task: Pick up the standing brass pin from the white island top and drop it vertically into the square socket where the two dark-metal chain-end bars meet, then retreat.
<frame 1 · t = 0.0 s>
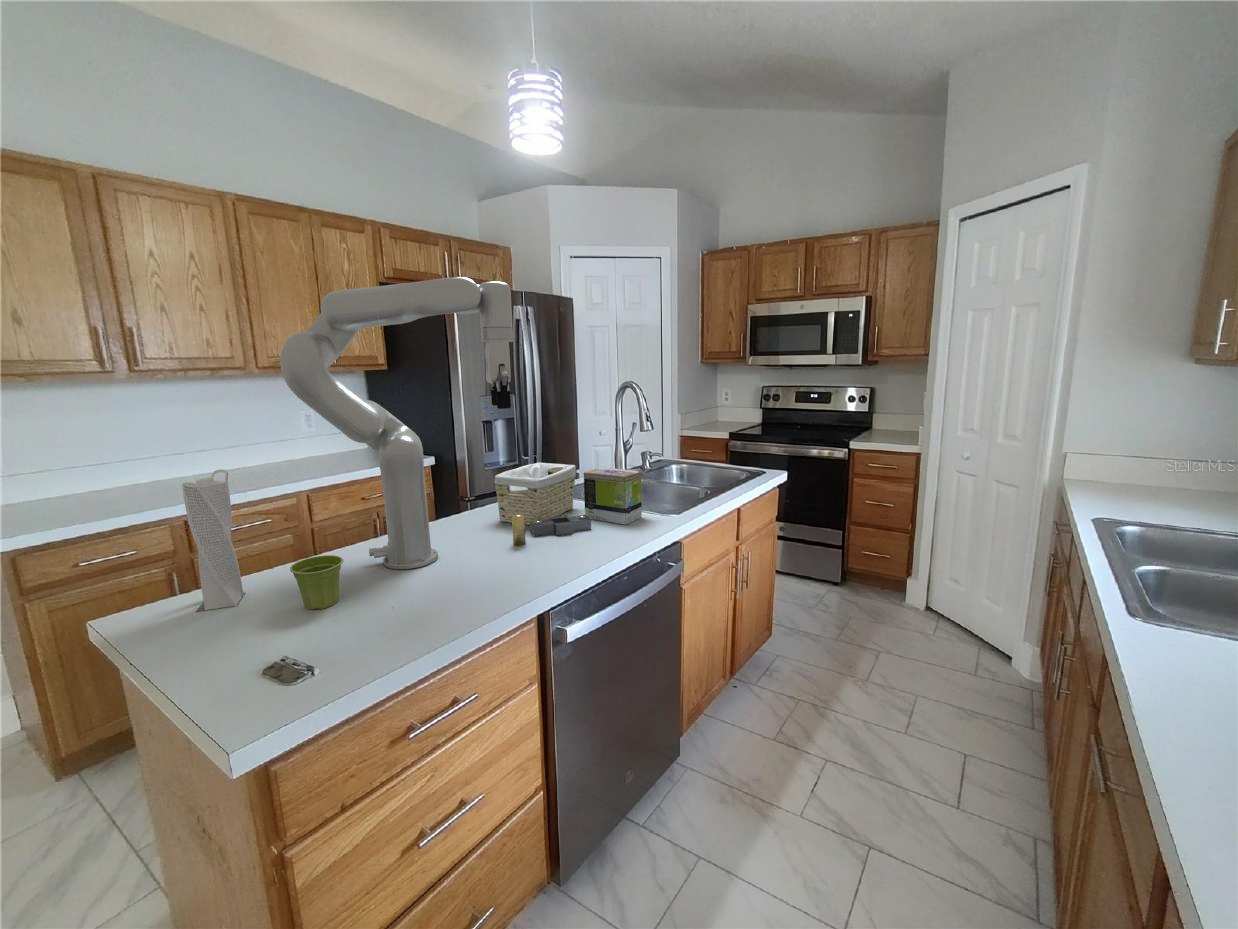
hand: (501, 406, 136), 37 cm above the countertop, tool pointing down, fingers open, 9 cm apart
brass pin: (519, 544, 146), on the countertop
tea box: (613, 518, 169), on the countertop
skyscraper: (225, 605, 114), on the countertop
chain ends: (560, 530, 157), on the countertop
plant pot: (322, 604, 113), on the countertop
storage basket: (538, 516, 173), on the countertop
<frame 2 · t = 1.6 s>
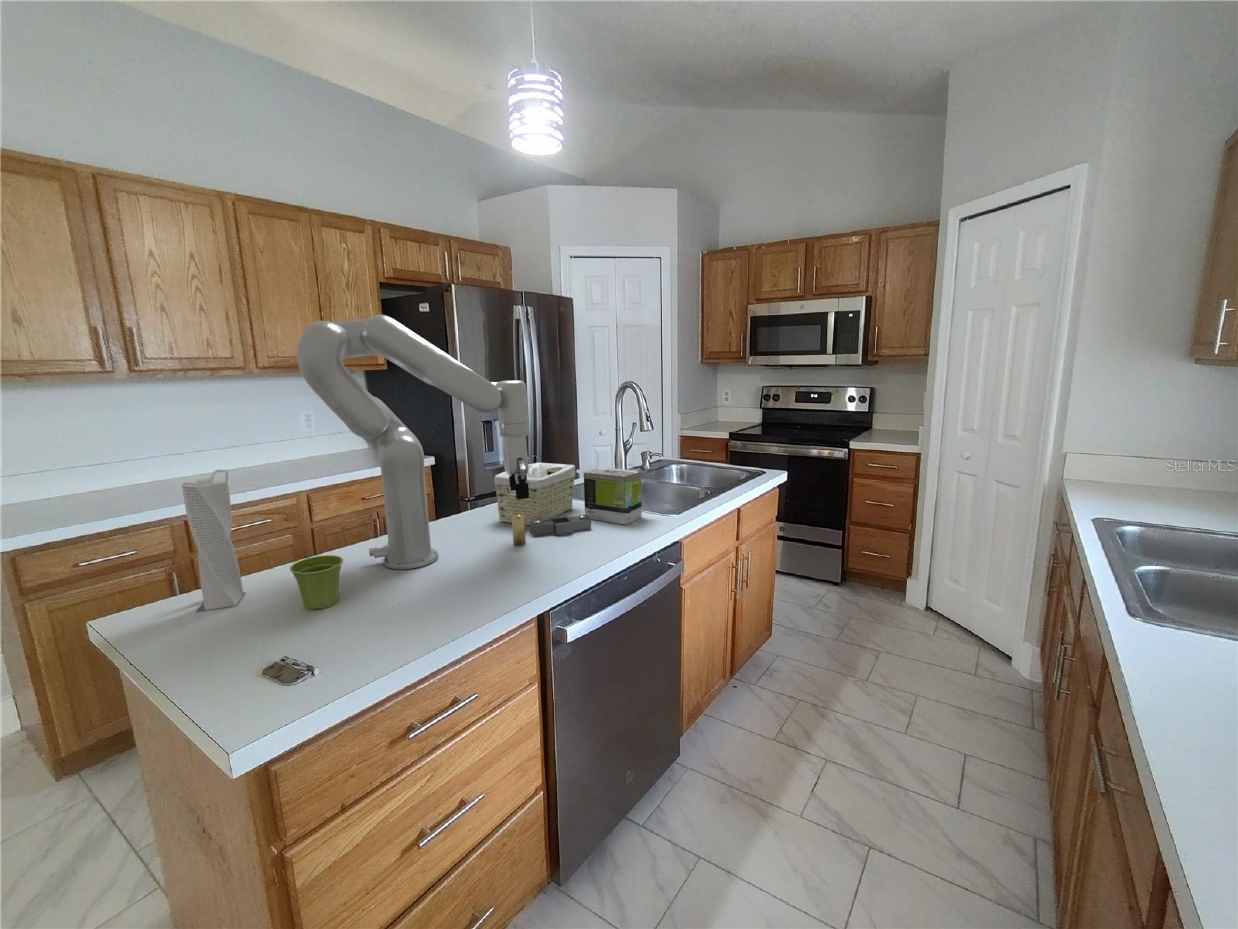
hand: (519, 494, 144), 14 cm above the countertop, tool pointing down, fingers open, 9 cm apart
nothing on the countertop moved.
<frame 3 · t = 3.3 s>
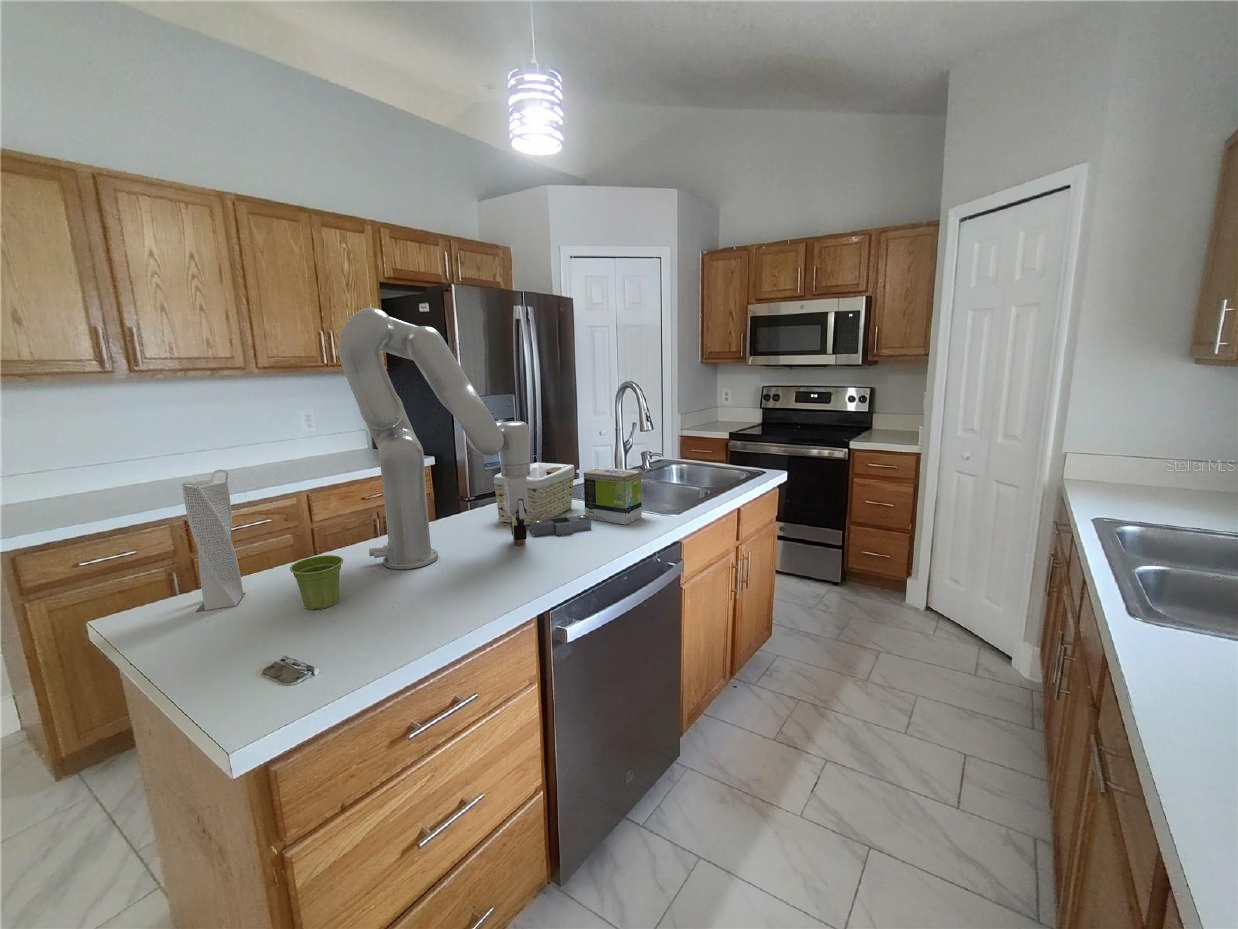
hand: (519, 536, 146), 2 cm above the countertop, tool pointing down, fingers closed on brass pin, 3 cm apart
brass pin: (519, 543, 146), on the countertop, touching gripper
everything else where it was.
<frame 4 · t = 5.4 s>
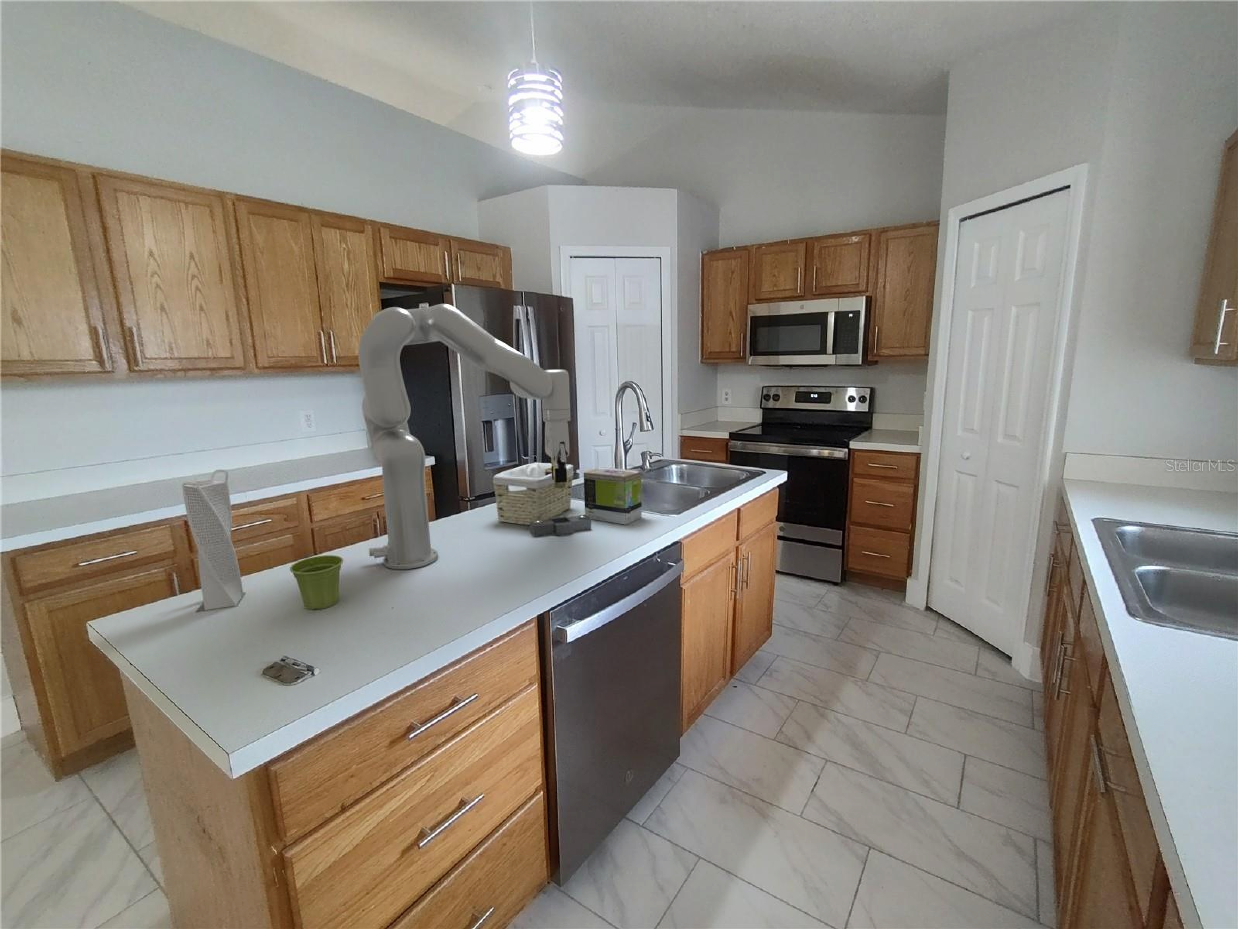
hand: (559, 480, 154), 15 cm above the countertop, tool pointing down, fingers closed on brass pin, 3 cm apart
brass pin: (559, 486, 155), point 13 cm above the countertop, touching gripper
everything else where it was.
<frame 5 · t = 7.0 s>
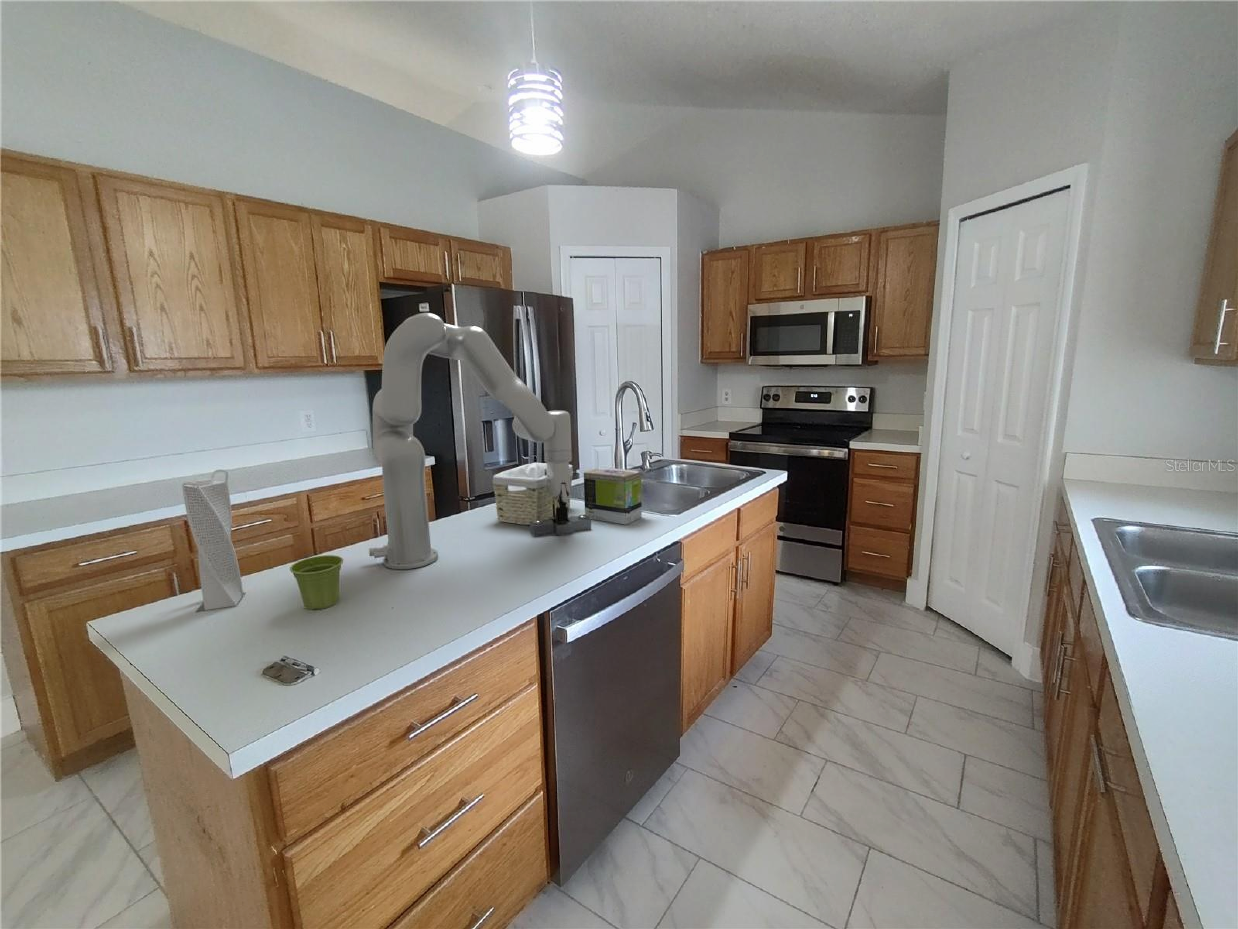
hand: (560, 518, 157), 4 cm above the countertop, tool pointing down, fingers closed on brass pin, 3 cm apart
brass pin: (560, 525, 157), point 2 cm above the countertop, touching gripper
everything else where it was.
when the fingers open (3 cm above the countertop, at t = 7.9 s): brass pin drops 1 cm, resting in chain ends.
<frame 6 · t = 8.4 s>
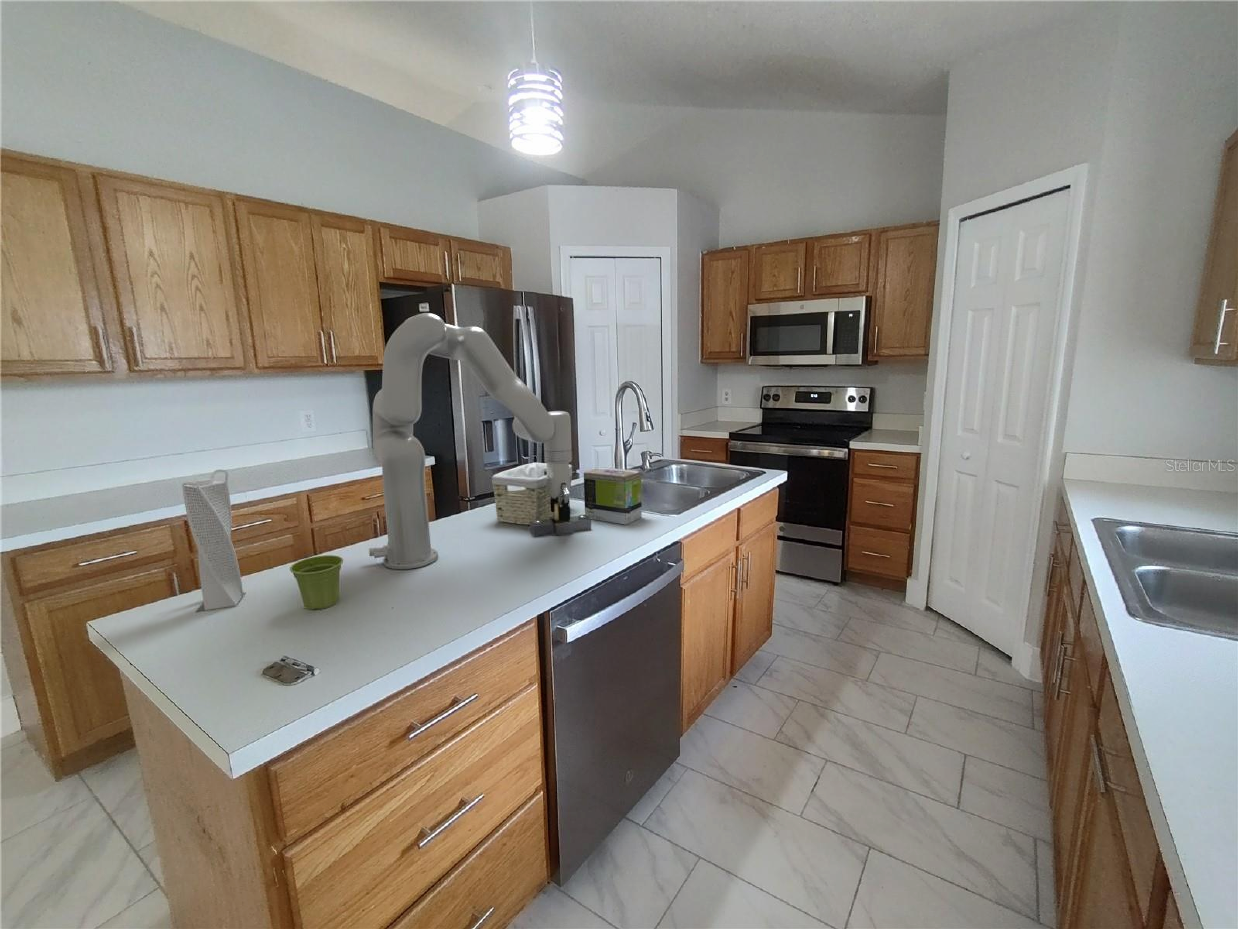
hand: (560, 515, 156), 4 cm above the countertop, tool pointing down, fingers open, 9 cm apart
brass pin: (560, 530, 157), resting in chain ends
everything else where it was.
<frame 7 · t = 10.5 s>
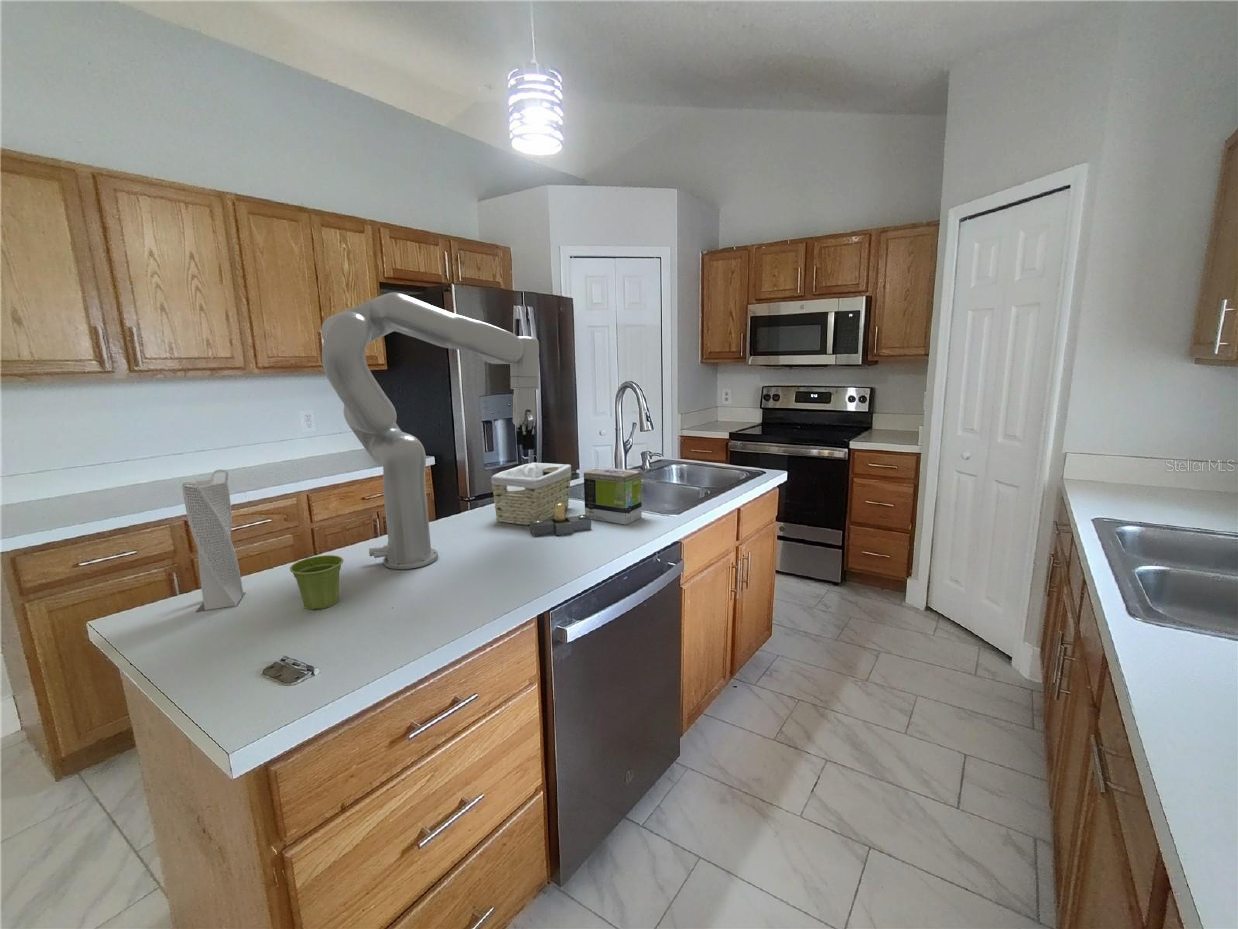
hand: (525, 446, 151), 25 cm above the countertop, tool pointing down, fingers open, 9 cm apart
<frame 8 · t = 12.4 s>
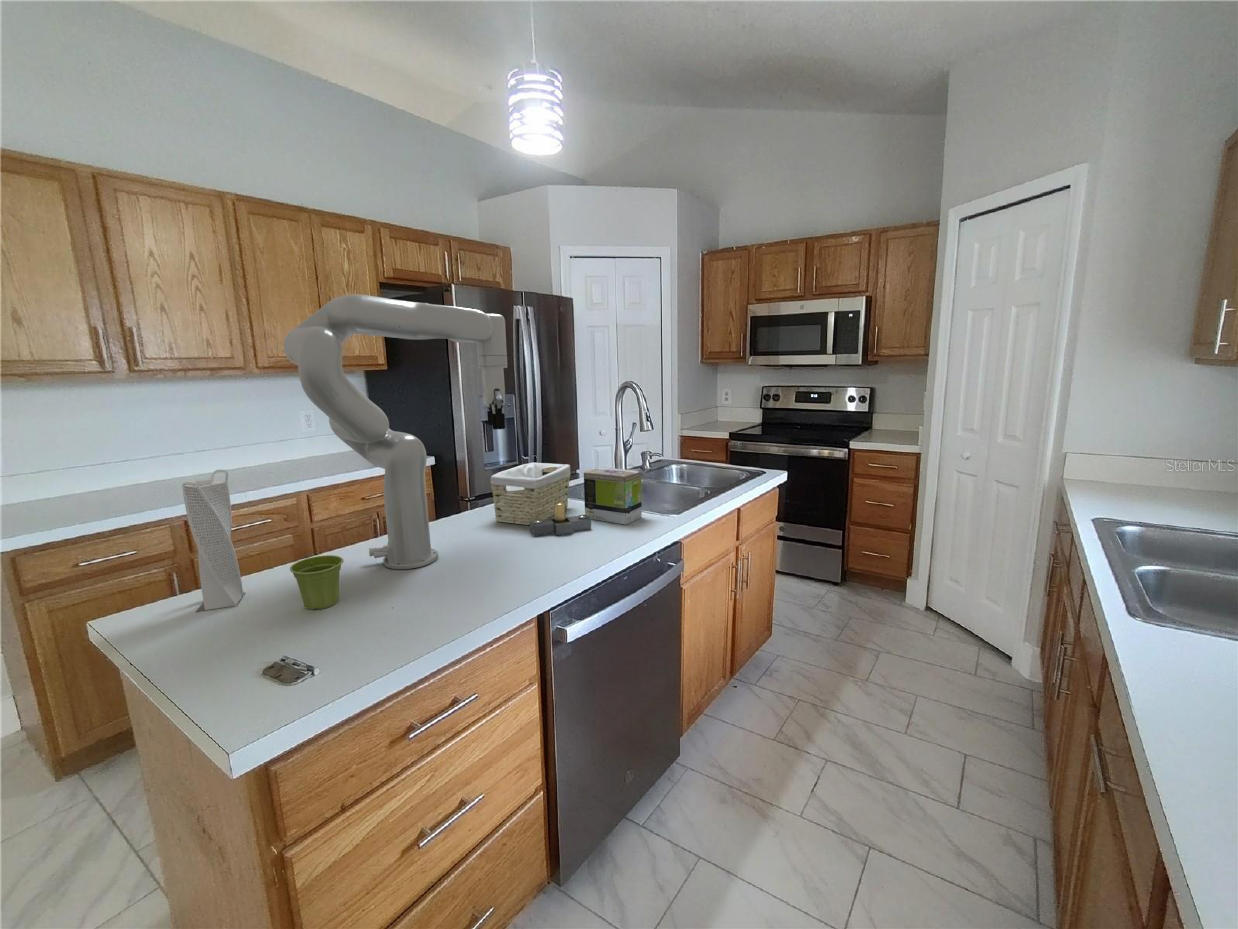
hand: (496, 426, 149), 30 cm above the countertop, tool pointing down, fingers open, 9 cm apart
at the end: brass pin 0.0 cm off-centre on the chain ends, point 0.0 cm above the chain ends's base; brass pin tilted 0°; the gripper is holding nothing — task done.
